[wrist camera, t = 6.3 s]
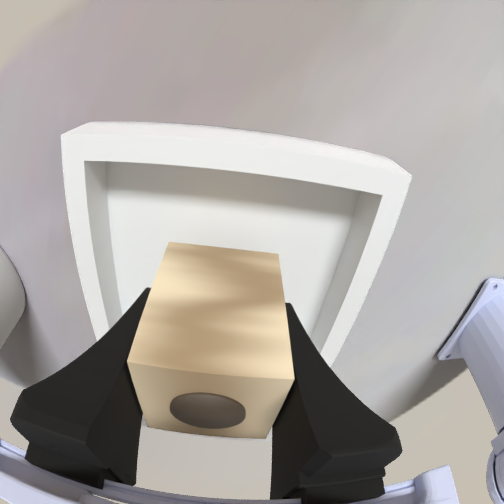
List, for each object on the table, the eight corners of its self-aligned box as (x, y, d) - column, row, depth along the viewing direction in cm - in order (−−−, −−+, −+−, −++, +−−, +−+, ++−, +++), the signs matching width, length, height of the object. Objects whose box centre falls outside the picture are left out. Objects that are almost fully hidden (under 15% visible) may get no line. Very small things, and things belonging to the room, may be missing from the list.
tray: (387, 156, 12) (412, 176, 10) (314, 353, 19) (320, 385, 17) (90, 121, 11) (61, 135, 9) (115, 332, 18) (104, 362, 16)
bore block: (278, 253, 13) (295, 383, 8) (261, 327, 15) (265, 442, 10) (168, 241, 12) (125, 365, 7) (171, 318, 15) (147, 430, 10)
